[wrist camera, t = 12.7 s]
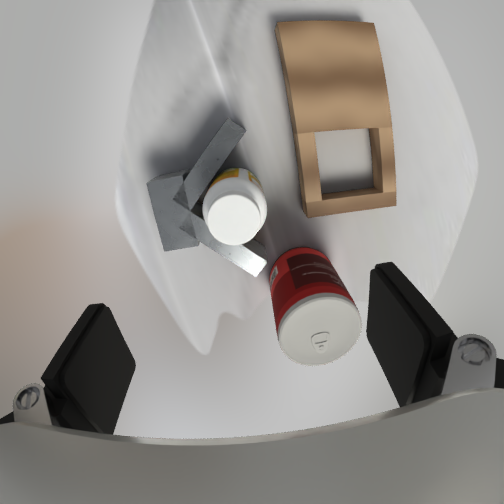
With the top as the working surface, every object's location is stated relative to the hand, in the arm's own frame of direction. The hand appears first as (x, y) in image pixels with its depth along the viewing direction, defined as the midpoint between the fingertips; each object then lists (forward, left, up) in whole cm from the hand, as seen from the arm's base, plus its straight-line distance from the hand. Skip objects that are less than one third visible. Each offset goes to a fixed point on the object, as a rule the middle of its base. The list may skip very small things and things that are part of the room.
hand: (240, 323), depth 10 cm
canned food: (+11, +5, -23) cm, 26 cm away
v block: (0, -3, -22) cm, 23 cm away
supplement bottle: (0, -1, -23) cm, 23 cm away
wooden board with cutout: (-7, +11, -22) cm, 26 cm away
